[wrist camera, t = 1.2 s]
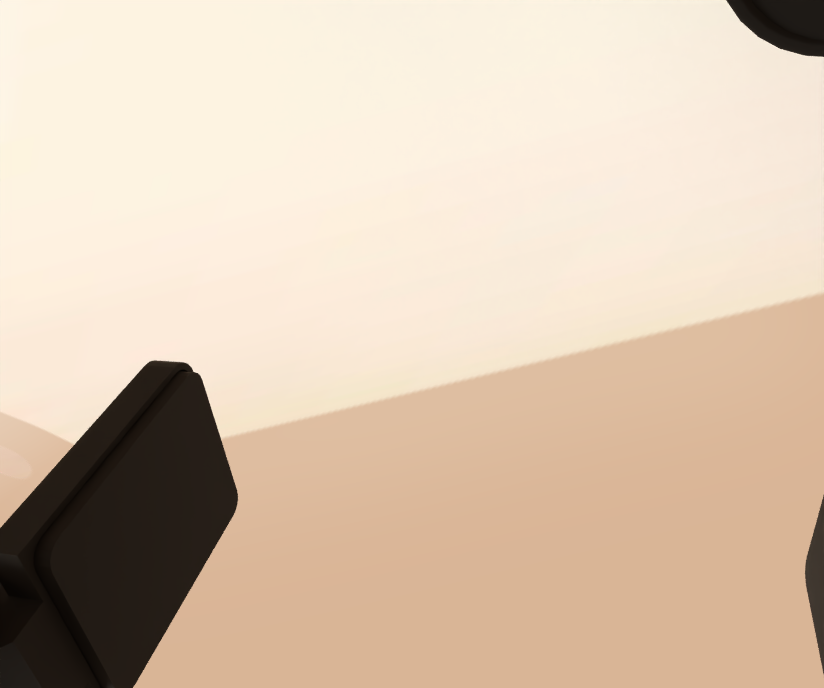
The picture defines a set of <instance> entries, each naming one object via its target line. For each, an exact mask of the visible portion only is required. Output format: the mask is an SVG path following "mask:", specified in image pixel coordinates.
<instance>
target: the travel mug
mask: <svg viewBox="0 0 824 688" xmlns="http://www.w3.org/2000/svg"><path fill="white" fill-rule="evenodd" d="M727 2H728V3H729V5H730V6H731V8H732V9H733V11H734V12H735V14H736V15H737V17H738V18H739V19H740V21H741V22H742V23H743V24H745V25H746V26H747V27H748V28H749V29H750V30H751V31H752V32H753V33H755V34H756V35H757V36H758V37H759V38H761V39H763V40H765V41H767V42H769V43H771V44H772V45H774V46H776V47H778V48H780V49H783V50H787V51H790V52H794V53H798V54H801V55H805V56H821V57H824V0H727Z"/></svg>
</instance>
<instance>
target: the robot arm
mask: <svg viewBox="0 0 824 688" xmlns="http://www.w3.org/2000/svg"><path fill="white" fill-rule="evenodd" d="M237 501H238V494H237V489H236V486H235V483H234V480H233V476H232V473H231V470H230V467H229V464H228V461H227V457H226V454H225V451H224V448H223V445H222V441H221V438H220V435H219V432H218V429H217V425H216V422H215V419H214V416H213V413H212V410H211V406H210V403H209V400H208V397H207V394H206V391H205V387H204V384H203V381H202V379H201V376H200V375H199V374H198V373H195V372H193V370H192V368H191V367H190V366H189V365H188V364H187V363H183V362H169V361H155V360H154V361H150V362H149V363H147V364H146V365H145V366H144V367H143V368H142V369H141V371H140V372H139V373H138V374H137V375H136V376H135V377H134V378H133V380H132V381H131V382H130V383H129V384H128V385H127V386H126V387H125V389H124V390H123V391H122V392H121V393H120V394H119V395H118V396H117V398H116V399H115V400H114V401H113V402H112V403H111V404H110V405H109V407H108V408H107V409H106V410H105V411H104V412H103V413H102V414H101V416H100V417H99V418H98V419H97V420H96V421H95V422H94V423H93V425H92V426H91V427H90V428H89V429H88V430H87V431H86V432H85V434H84V435H83V436H82V437H81V438H80V439H79V440H78V441H77V442H76V444H75V445H74V446H73V447H72V448H71V449H70V450H69V452H68V453H67V454H66V455H65V456H64V457H63V458H62V459H61V460H60V462H59V463H58V464H57V465H56V466H55V467H54V468H53V469H52V471H51V472H50V473H49V474H48V475H47V476H46V477H45V479H44V480H43V481H42V482H41V483H40V484H39V485H38V486H37V487H36V489H35V490H34V491H33V492H32V493H31V494H30V495H29V497H28V498H27V499H26V500H25V501H24V502H23V503H22V504H21V505H20V507H19V508H18V509H17V510H16V511H15V512H14V513H13V514H12V516H11V517H10V518H9V519H8V520H7V521H6V523H4V525H3V526H2V527H1V528H0V688H133V686H134V685H135V684H136V682H137V680H138V678H139V677H140V675H141V673H142V672H143V670H144V668H145V666H146V665H147V663H148V661H149V659H150V658H151V656H152V654H153V653H154V651H155V649H156V647H157V646H158V644H159V642H160V641H161V639H162V637H163V635H164V634H165V632H166V630H167V629H168V627H169V625H170V623H171V622H172V620H173V618H174V616H175V615H176V613H177V611H178V610H179V608H180V606H181V604H182V602H183V601H184V599H185V598H186V596H187V594H188V592H189V591H190V589H191V587H192V586H193V584H194V582H195V580H196V578H197V577H198V575H199V574H200V572H201V570H202V568H203V566H204V565H205V563H206V561H207V560H208V558H209V556H210V554H211V553H212V551H213V549H214V548H215V546H216V544H217V542H218V541H219V539H220V537H221V536H222V534H223V532H224V530H225V529H226V527H227V525H228V524H229V522H230V520H231V518H232V517H233V515H234V513H235V510H236V507H237ZM805 578H806V587H807V592H808V597H809V602H810V607H811V612H812V617H813V622H814V628H815V632H816V637H817V643H818V648H819V653H820V658H821V663H822V668H823V673H824V497H823V500H822V504H821V508H820V511H819V515H818V518H817V522H816V526H815V529H814V533H813V537H812V540H811V544H810V547H809V551H808V555H807V560H806V568H805Z"/></svg>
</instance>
